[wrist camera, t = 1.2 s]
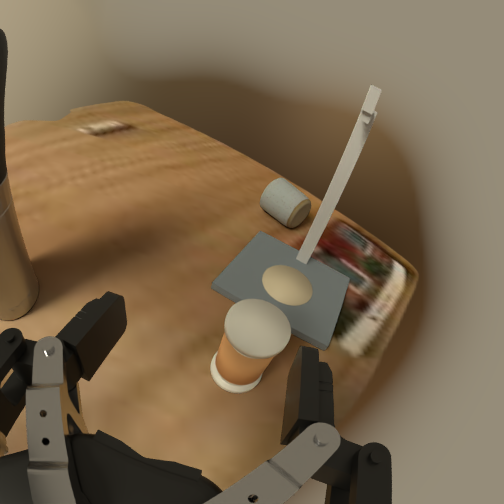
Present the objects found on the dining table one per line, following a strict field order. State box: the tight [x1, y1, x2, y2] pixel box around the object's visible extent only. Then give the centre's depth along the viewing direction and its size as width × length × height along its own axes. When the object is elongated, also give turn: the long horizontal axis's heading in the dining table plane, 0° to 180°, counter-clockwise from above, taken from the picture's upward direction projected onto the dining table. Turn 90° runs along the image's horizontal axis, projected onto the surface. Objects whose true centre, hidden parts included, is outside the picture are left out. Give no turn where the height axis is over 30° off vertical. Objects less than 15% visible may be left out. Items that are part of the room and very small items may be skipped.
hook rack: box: [211, 85, 382, 351], centre depth 34 cm, size 18×16×31 cm
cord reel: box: [210, 299, 291, 394], centre depth 28 cm, size 6×6×10 cm
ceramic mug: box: [260, 178, 311, 228], centre depth 56 cm, size 11×8×8 cm
